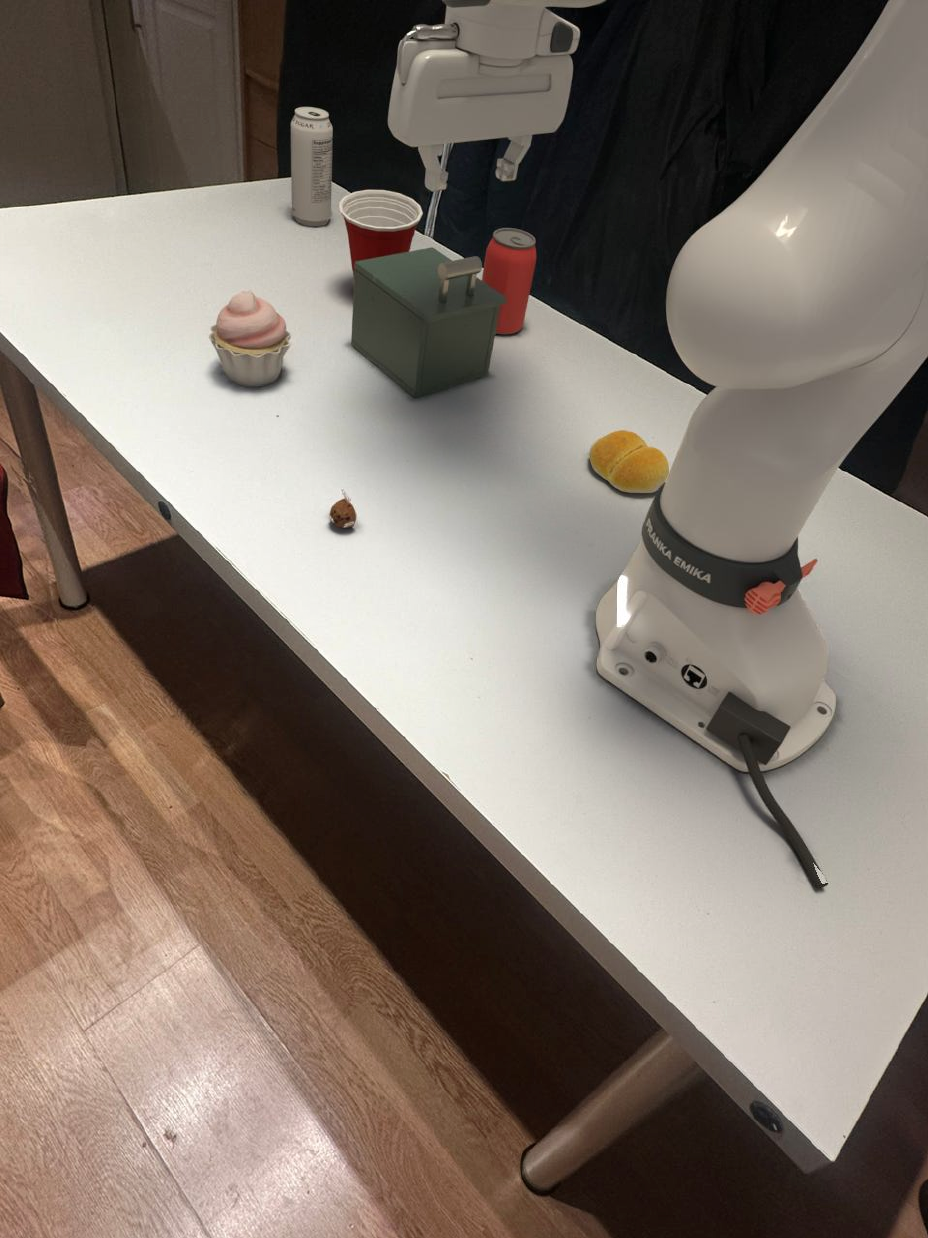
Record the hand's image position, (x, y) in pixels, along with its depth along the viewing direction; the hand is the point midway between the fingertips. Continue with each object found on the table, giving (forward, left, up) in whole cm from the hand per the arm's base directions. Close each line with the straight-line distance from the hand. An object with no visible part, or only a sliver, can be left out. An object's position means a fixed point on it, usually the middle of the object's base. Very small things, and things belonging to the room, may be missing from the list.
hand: (471, 183), depth 85 cm
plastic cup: (+22, -5, -23) cm, 32 cm away
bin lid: (+5, 0, -13) cm, 14 cm away
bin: (+5, 0, -23) cm, 23 cm away
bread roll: (-25, -7, -23) cm, 35 cm away
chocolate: (-17, +26, -23) cm, 39 cm away
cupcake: (+11, +20, -23) cm, 33 cm away
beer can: (+8, -16, -23) cm, 29 cm away
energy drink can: (+47, -10, -23) cm, 54 cm away
